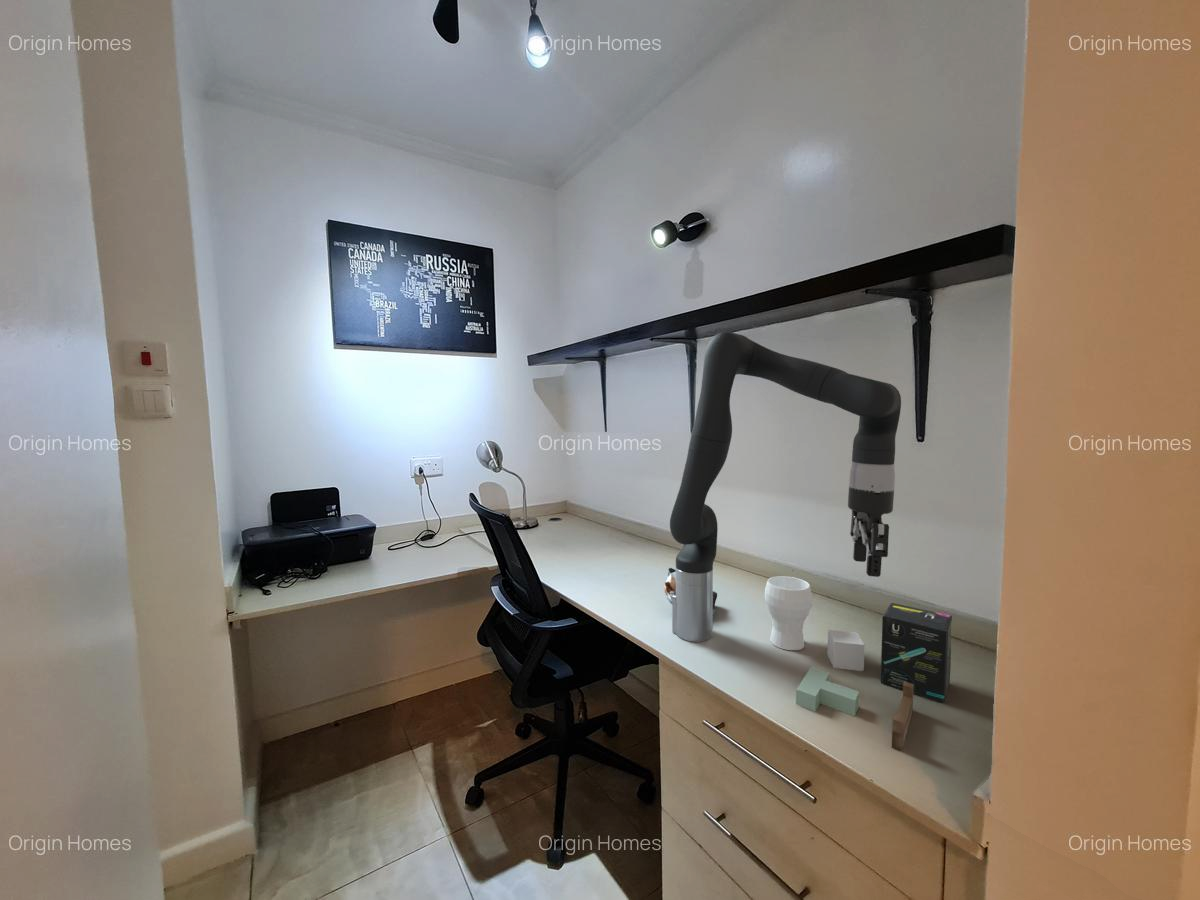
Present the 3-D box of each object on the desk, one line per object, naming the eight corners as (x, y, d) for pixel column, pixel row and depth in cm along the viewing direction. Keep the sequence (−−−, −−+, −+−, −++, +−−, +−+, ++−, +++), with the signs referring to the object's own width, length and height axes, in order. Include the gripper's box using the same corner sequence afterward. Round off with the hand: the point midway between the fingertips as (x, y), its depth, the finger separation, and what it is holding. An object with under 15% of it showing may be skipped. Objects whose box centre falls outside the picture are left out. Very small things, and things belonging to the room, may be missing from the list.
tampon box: (950, 683, 95) (953, 614, 94) (945, 704, 88) (948, 630, 87) (888, 665, 102) (890, 600, 101) (879, 683, 95) (881, 614, 94)
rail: (891, 747, 77) (892, 718, 77) (903, 706, 88) (904, 681, 87) (902, 751, 76) (903, 722, 76) (912, 709, 87) (913, 684, 86)
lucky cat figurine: (712, 626, 122) (687, 582, 120) (673, 632, 128) (649, 591, 127) (723, 591, 134) (700, 551, 133) (687, 599, 141) (665, 561, 139)
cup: (807, 635, 116) (808, 577, 115) (814, 656, 106) (816, 593, 105) (762, 630, 119) (763, 573, 118) (765, 650, 109) (766, 588, 108)
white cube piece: (827, 654, 107) (828, 629, 107) (856, 657, 106) (856, 632, 105) (833, 668, 101) (834, 641, 101) (863, 671, 100) (864, 644, 100)
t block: (795, 704, 89) (796, 689, 89) (811, 681, 96) (811, 667, 96) (850, 725, 83) (851, 709, 83) (862, 698, 90) (862, 683, 90)
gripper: (840, 479, 96) (835, 555, 98) (860, 491, 83) (855, 579, 84) (880, 481, 95) (875, 558, 96) (908, 493, 81) (901, 583, 82)
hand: (866, 568), depth 90 cm, fingers open, 8 cm apart
